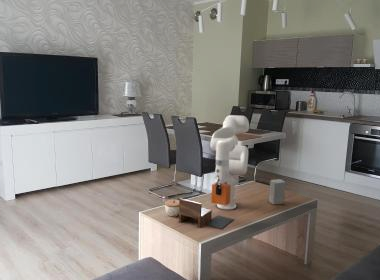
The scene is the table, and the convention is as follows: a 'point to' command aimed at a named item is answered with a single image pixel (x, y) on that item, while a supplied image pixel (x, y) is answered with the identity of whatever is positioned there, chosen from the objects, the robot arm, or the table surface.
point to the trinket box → (172, 207)
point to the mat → (219, 222)
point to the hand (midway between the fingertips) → (221, 192)
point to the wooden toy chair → (194, 211)
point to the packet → (224, 196)
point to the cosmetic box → (277, 191)
